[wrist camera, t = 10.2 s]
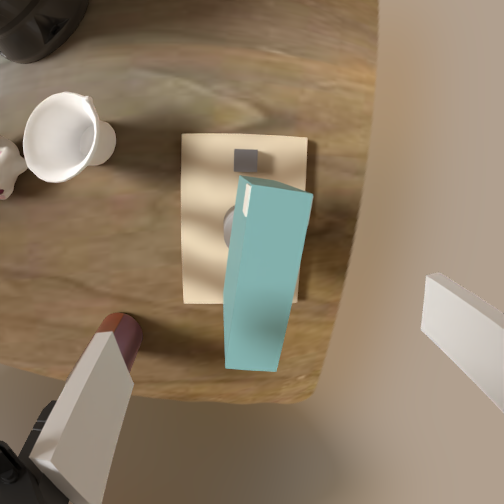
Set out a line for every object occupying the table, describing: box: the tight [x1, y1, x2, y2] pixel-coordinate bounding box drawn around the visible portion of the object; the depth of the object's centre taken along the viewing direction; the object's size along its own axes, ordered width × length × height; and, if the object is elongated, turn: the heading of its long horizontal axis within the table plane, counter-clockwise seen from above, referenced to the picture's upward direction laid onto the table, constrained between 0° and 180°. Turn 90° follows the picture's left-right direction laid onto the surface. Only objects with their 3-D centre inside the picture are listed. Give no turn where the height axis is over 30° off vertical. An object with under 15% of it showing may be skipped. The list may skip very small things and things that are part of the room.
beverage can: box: [65, 313, 143, 386], centre depth 33 cm, size 6×6×15 cm
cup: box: [23, 92, 116, 183], centre depth 28 cm, size 9×9×10 cm
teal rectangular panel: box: [223, 175, 313, 372], centre depth 24 cm, size 3×11×13 cm, turn 172°
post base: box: [181, 133, 307, 304], centre depth 34 cm, size 20×14×8 cm
